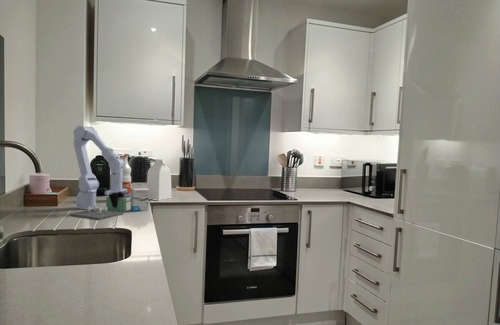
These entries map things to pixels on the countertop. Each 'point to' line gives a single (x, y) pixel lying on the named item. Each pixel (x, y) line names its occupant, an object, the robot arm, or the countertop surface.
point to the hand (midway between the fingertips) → (116, 207)
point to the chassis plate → (96, 213)
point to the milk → (159, 181)
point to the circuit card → (120, 204)
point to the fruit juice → (126, 179)
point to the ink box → (139, 197)
